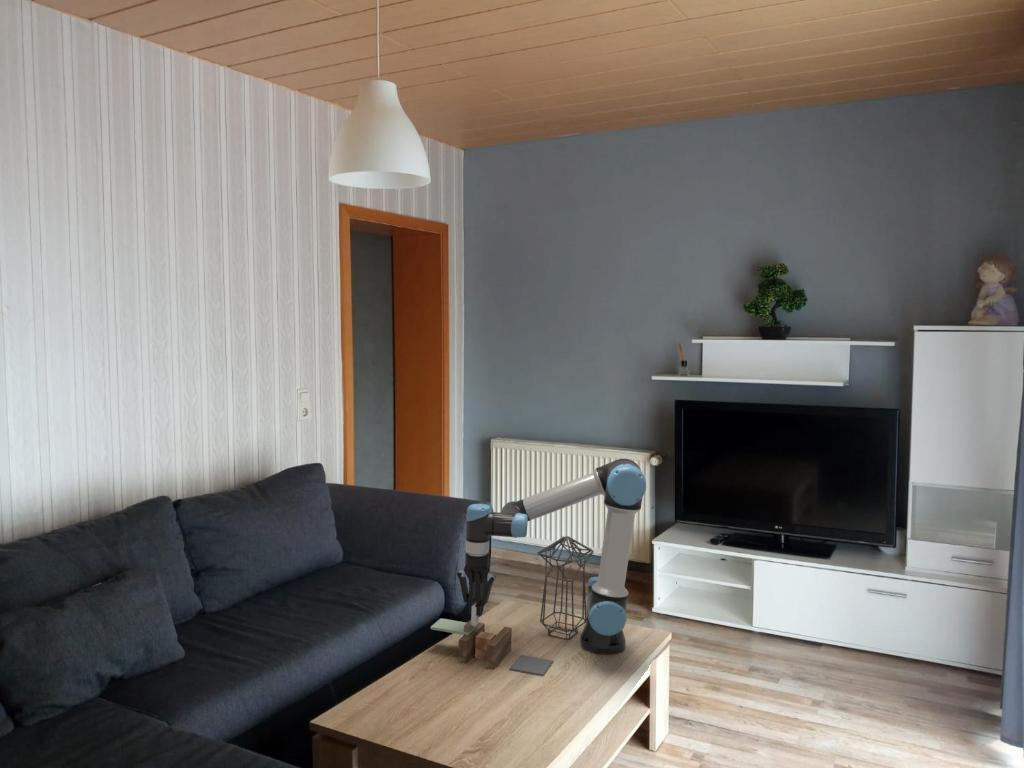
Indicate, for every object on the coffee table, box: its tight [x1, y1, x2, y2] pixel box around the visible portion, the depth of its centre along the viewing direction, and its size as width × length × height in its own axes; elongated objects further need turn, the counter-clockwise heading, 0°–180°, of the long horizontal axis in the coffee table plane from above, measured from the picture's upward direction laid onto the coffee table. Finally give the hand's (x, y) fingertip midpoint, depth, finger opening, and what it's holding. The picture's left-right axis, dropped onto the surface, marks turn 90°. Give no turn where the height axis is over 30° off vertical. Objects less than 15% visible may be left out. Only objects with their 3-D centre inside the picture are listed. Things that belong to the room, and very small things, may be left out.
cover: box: [430, 618, 477, 636], centre depth 266 cm, size 13×8×3 cm, turn 71°
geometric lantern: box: [536, 535, 595, 640], centre depth 282 cm, size 16×16×35 cm
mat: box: [508, 654, 554, 677], centre depth 257 cm, size 11×11×1 cm
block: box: [474, 631, 497, 661], centre depth 263 cm, size 5×5×7 cm
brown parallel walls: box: [457, 621, 513, 670], centre depth 263 cm, size 12×16×8 cm
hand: (474, 624), depth 264 cm, fingers closed
